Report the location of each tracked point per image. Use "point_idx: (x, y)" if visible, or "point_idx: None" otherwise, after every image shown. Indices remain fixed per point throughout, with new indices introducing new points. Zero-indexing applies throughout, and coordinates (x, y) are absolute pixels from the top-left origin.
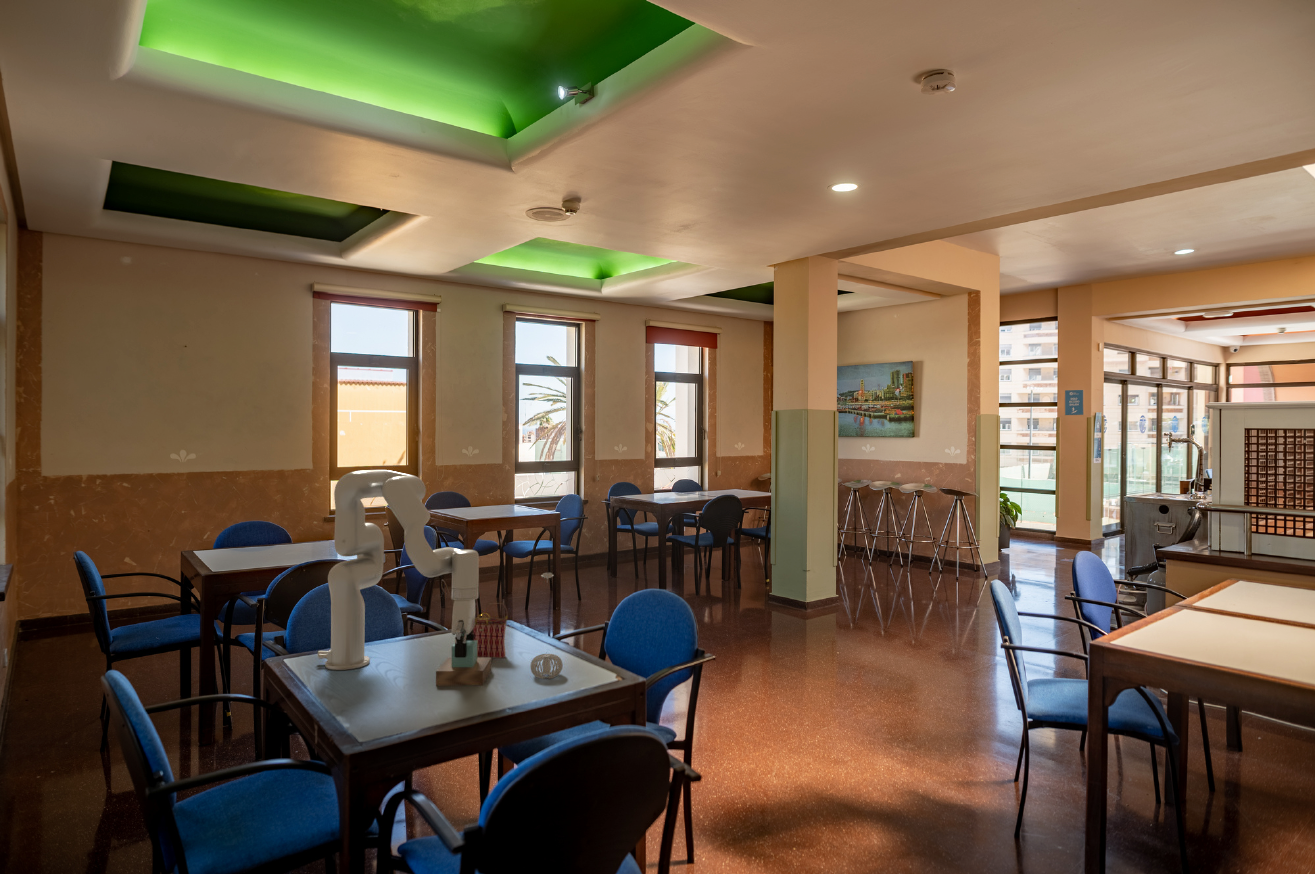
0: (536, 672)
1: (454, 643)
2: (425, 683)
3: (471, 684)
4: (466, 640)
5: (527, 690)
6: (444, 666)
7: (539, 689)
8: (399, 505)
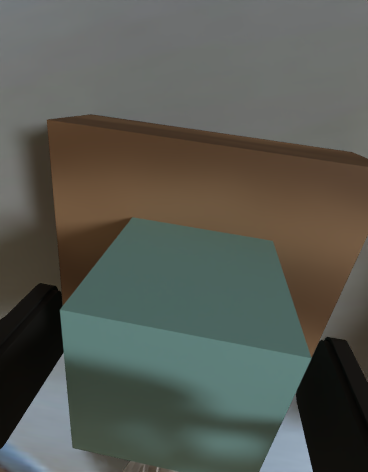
0: (140, 464)
1: (176, 334)
2: (128, 39)
3: None
4: (332, 420)
5: (48, 410)
6: (155, 169)
7: (58, 431)
8: None
